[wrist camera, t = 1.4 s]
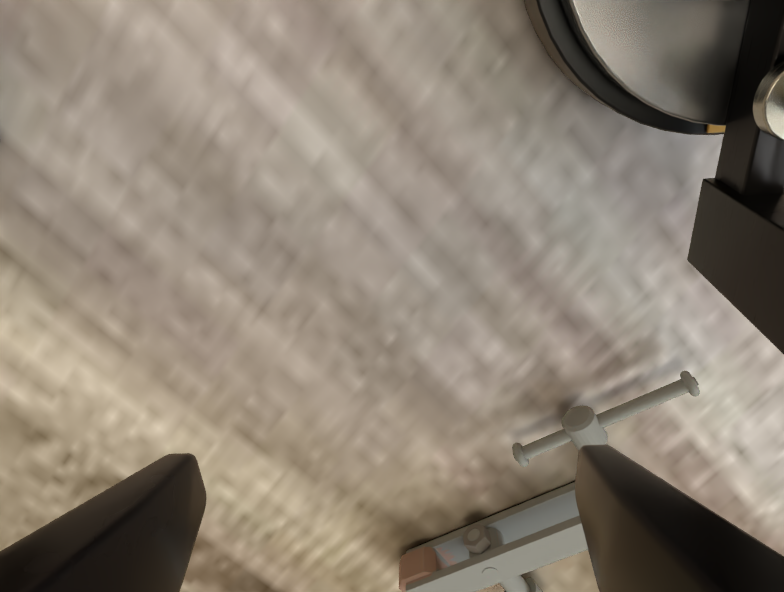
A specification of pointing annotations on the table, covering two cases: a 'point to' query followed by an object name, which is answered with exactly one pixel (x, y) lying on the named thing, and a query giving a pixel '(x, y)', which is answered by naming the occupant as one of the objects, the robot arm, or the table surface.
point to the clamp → (523, 516)
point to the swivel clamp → (714, 107)
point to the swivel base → (598, 72)
